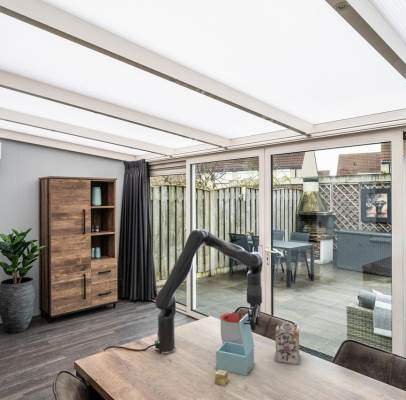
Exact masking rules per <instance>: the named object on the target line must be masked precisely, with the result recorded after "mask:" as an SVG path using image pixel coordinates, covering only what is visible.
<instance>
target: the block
mask: <svg viewBox="0 0 406 400" xmlns="http://www.w3.org/2000/svg"><path fill="white" fill-rule="evenodd" d="M228 377H229V371H225V370H221V369H217V371H216V372H215V373H214V384H217V385H221V386H225V385H226V384H227V383H228V381H229V378H228Z"/></svg>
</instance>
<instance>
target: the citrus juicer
mask: <svg viewBox="0 0 406 400" xmlns="http://www.w3.org/2000/svg"><path fill="white" fill-rule="evenodd" d="M245 315H246V314H242V315H241V316H240V317H239V315H238V314H237V313H236V312H235V311H233V312H229V313H223V314H221V315H220V316H219V319H220V339H221V342H222V344H223V343H224V342H230V343H235V344H240V345H243V341H242V335H241V329H240V324H239V321H240V320H241V319H242V318H243V317H244V316H245Z"/></svg>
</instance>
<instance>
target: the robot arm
mask: <svg viewBox="0 0 406 400" xmlns="http://www.w3.org/2000/svg"><path fill="white" fill-rule="evenodd" d="M203 246H206V247H209V248H213V249H215V250H217V251H218V252H220V253H221V254H222V255H224V256H226V257H228V258H230V259H233V260H235V261H237V262H238V263H241V264H242V265H244V266H246V267H248V272H247V273H246V303H247V304H248V305H249V307H248V308H249V309H247V314H248V319H249V322H250V325H251V330H252V331H255V330H256V326H257V327H258V326H260V317H261V308H262V307H261V306H262V304H263V286H262V271H263V264H264V262H263V261H264V260H263V256H262V254H261V253H260V252H258V251H253V252H249V251H247V250H245V248H243V247H242V246H240V245H237V244H235V243H233V242H229V241H227V240H224V239H223V238H220V237H218V236H216V235H215V234H212V233H211V232H209V231H208V230H206V229H204V228H197V229H193V230H192V231H191V232H190V233H189V235H188V237H187V239H186V241H185V244H184V247H183V249H182V250H181V253H180V254H179V255H178V258H177V259H176V262H175V263H174V264H173V267H172V269H171V271H170V273H169V274H168V277H167V279H166V280H165V283H164V284H163V286H162V287H161V289H160V290H159V291H158V293H157V294H156V297H155V299H154V304H155V307H156V308H157V310H160V311H159V313H158V315H157V340H154V344H151V345H148V346H147V347H145V348H141V349H139V348H131V347H126V346H118V345H110V346H109V345H108V346H107V347H105V348H104V349H103V352H105V351H107V350H108V349H124V350H127V351H134V352H145V351H147V350H148V349H150V348H152V347H155V349H157V351H158V354H160V355H161V354H162V355H169V354H173V353H174V352H175V350H176V347H175V346H176V345H175V316H176V312H177V310H176V309H177V299H176V298H177V297H176V294H175V292H177V290H178V288H180V287H181V285H182V284H183V283H184V282H185V280H187V278H188V276H189V274H190V273H191V270H192V268H193V263H194V259H195V255H196V253H198V250H200V247H203ZM255 319H256V322H255Z"/></svg>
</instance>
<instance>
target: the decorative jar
mask: <svg viewBox="0 0 406 400" xmlns="http://www.w3.org/2000/svg"><path fill="white" fill-rule="evenodd" d="M274 336H275V361H276V362H277V363H284V364H291V365H299V364H300V330H299V328H298V327H297V326H294V325H292V323H289V322H283V323H282V324H280V325H279V324H278V325H277V326H275V334H274Z"/></svg>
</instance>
